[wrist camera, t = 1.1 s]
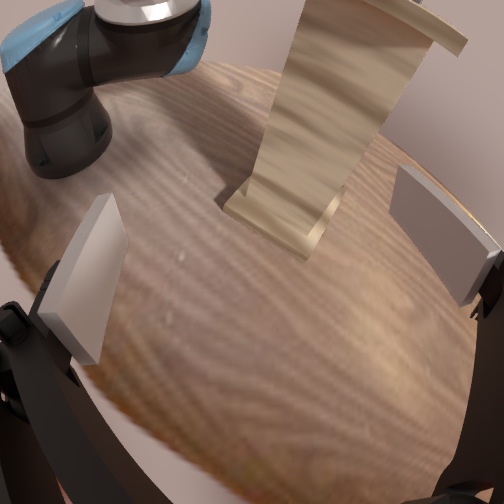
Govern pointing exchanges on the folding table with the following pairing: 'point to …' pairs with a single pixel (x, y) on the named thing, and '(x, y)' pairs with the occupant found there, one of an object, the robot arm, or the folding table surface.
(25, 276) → the folding table surface
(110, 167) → the folding table surface
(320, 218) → the pedestal
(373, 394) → the folding table surface
